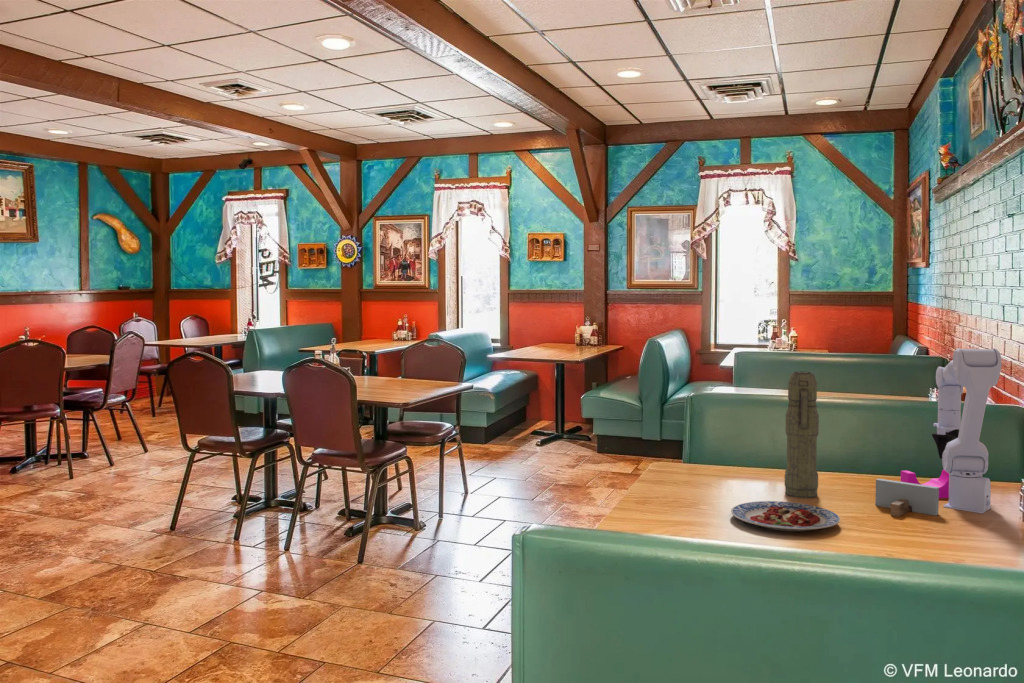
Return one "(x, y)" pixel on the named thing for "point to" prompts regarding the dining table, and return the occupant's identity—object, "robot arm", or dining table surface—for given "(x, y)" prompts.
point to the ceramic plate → (785, 515)
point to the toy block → (930, 482)
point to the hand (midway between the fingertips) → (948, 456)
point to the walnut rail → (900, 507)
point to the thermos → (802, 436)
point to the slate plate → (908, 495)
